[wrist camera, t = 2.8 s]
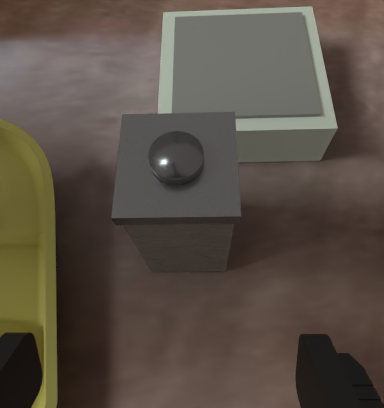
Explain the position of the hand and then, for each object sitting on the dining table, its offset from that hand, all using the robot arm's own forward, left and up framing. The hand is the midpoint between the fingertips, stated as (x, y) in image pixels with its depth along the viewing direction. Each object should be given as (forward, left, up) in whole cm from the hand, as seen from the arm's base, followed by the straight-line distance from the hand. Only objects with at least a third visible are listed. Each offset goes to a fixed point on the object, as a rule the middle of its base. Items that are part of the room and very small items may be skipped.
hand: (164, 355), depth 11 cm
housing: (0, +8, -12) cm, 14 cm away
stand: (+4, +20, -12) cm, 24 cm away
